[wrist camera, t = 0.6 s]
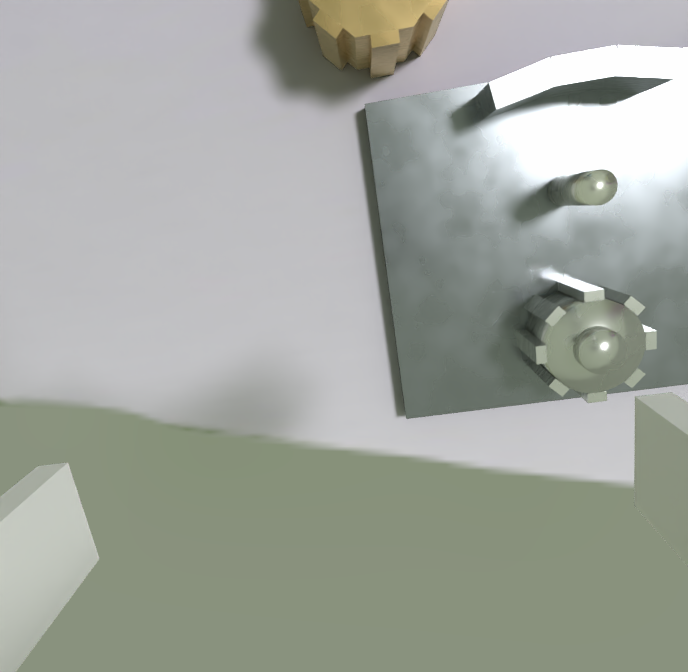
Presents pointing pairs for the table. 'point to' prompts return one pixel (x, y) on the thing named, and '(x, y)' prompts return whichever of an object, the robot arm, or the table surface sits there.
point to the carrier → (538, 231)
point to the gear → (373, 30)
